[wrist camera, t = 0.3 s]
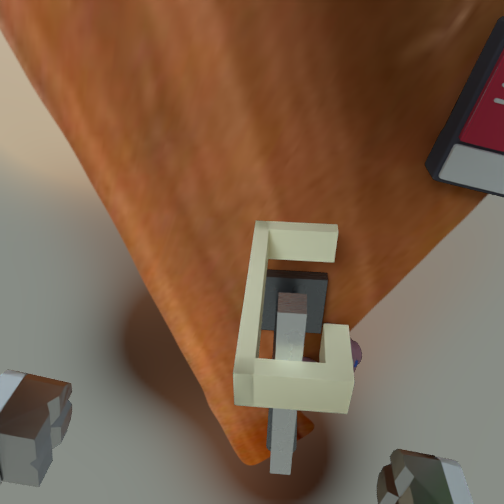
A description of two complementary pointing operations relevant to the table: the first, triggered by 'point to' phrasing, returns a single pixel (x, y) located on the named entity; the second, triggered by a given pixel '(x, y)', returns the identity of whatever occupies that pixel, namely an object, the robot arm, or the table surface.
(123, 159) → the table surface
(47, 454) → the robot arm
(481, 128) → the calculator
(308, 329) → the hook stand
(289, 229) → the c-shaped bracket
